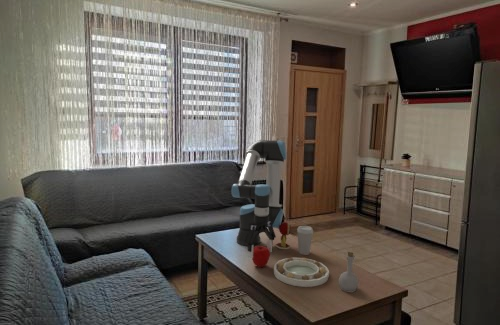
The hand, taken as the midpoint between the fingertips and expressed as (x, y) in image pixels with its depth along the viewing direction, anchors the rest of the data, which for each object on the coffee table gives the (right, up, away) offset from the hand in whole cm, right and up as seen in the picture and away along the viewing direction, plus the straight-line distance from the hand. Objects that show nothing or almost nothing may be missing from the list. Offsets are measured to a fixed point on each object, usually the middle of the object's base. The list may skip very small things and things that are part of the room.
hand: (260, 254), depth 181 cm
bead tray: (+20, -8, -7) cm, 23 cm away
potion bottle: (+40, -10, -21) cm, 47 cm away
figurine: (+15, -3, +30) cm, 33 cm away
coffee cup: (+26, -5, +21) cm, 34 cm away
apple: (0, -7, +1) cm, 7 cm away
